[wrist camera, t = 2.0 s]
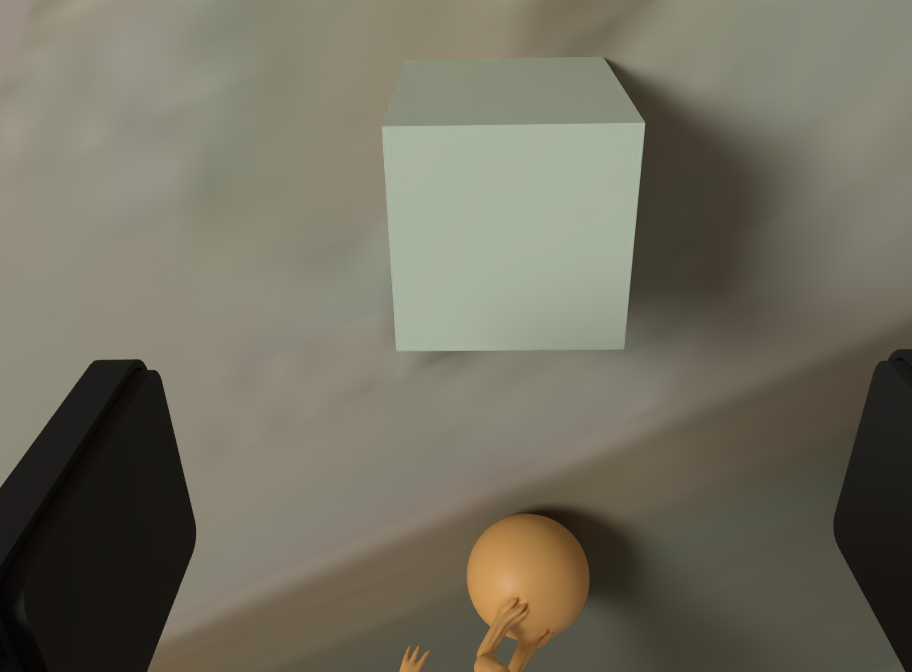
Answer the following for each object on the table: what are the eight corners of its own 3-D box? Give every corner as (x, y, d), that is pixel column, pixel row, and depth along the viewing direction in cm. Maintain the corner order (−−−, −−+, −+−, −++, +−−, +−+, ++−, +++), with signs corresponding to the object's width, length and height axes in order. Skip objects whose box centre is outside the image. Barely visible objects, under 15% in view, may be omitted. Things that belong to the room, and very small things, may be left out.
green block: (602, 56, 21) (645, 122, 16) (590, 239, 23) (623, 349, 18) (404, 60, 21) (381, 126, 16) (413, 242, 24) (396, 350, 18)
